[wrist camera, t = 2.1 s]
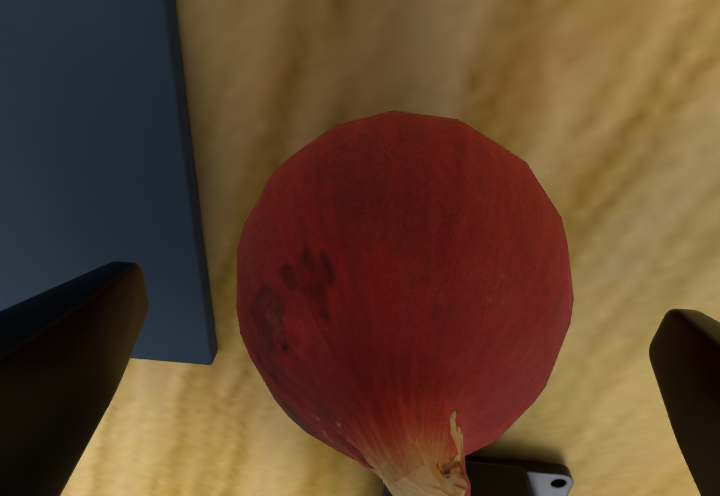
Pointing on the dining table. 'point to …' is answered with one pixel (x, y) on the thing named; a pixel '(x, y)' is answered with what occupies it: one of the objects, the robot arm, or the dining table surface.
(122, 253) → the mat
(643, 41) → the dining table surface
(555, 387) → the dining table surface
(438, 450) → the onion
